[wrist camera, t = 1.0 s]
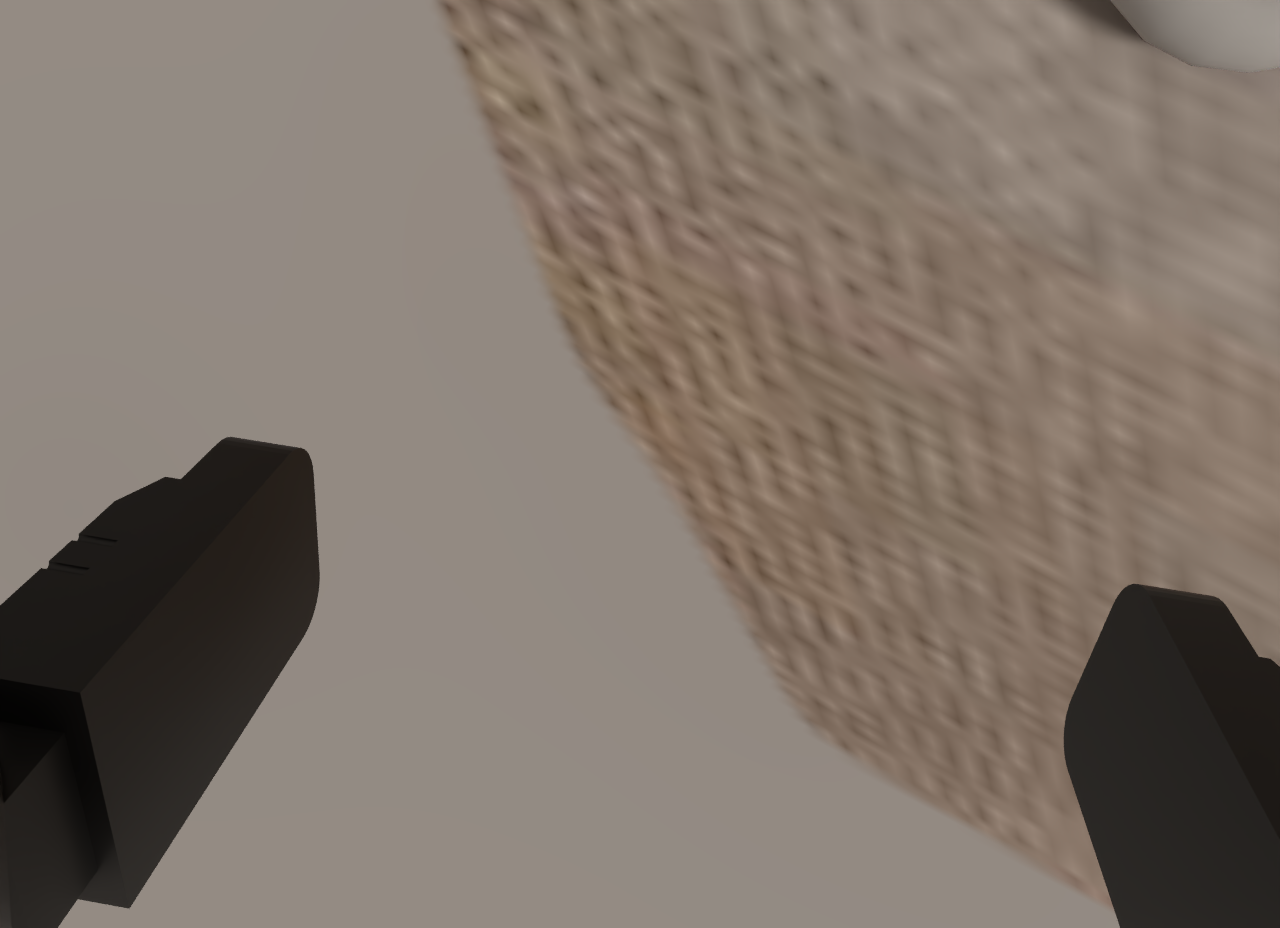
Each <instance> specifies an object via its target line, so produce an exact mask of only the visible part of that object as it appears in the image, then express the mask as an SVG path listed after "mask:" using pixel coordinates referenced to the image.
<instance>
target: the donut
mask: <svg viewBox="0 0 1280 928" xmlns="http://www.w3.org/2000/svg"><path fill="white" fill-rule="evenodd" d="M1110 1H1111V2H1112V3H1113V4H1114V5H1115V7H1116V8H1117V9H1118V10H1119V11H1120V13H1121V14H1122V15H1123V16H1124V17H1125V19H1126V20H1127V21H1128V22H1129V23H1130V25H1131V26H1132V27H1133V28H1134V29H1135V31H1136V32H1137V33H1138V34H1139V35H1140V37H1141V38H1142V39H1143V40H1144V41H1145V42H1147V43H1149V44H1151V45H1153V46H1155V47H1157V48H1159V49H1160V50H1162V51H1164V52H1166V53H1168V54H1170V55H1172V56H1174V57H1176V58H1177V59H1179V60H1181V61H1183V62H1185V63H1187V64H1189V65H1191V66H1198V67H1206V68H1214V69H1222V70H1230V71H1238V72H1246V73H1248V72H1258V71H1264V70H1269V69H1274V68H1280V0H1110Z"/></svg>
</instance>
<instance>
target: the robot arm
mask: <svg viewBox="0 0 1280 928" xmlns="http://www.w3.org/2000/svg"><path fill="white" fill-rule="evenodd" d="M319 576H320V572H319V555H318V540H317V522H316V506H315V490H314V474H313V465H312V461H311V459H310V456H309V454H308V452H307V451H305V449H302V448H297V447H291V446H285V445H278V444H272V443H266V442H260V441H253V440H247V439H241V438H235V437H227V438H225V439H223V440H221V441H220V442H219V443H218V444H217V445H216V446H214V447H213V448H212V449H211V450H210V451H209V452H208V453H207V454H206V455H205V456H204V457H203V458H202V459H201V460H200V461H199V462H198V463H197V464H196V465H195V466H194V467H193V468H192V469H191V470H190V471H189V472H188V473H187V474H186V475H185V476H184V477H183V478H182V479H175V478H169V477H164V478H162V479H160V480H158V481H156V482H154V483H152V484H150V485H148V486H146V487H144V488H141V489H139V490H137V491H135V492H133V493H131V494H129V495H127V496H125V497H123V498H121V499H118V500H116V501H114V502H113V503H112V504H111V505H110V506H109V507H108V508H107V509H106V510H105V511H103V512H102V513H101V514H100V515H99V516H98V517H97V518H96V519H95V520H94V521H92V522H91V523H90V524H89V525H88V526H87V527H86V528H85V529H84V530H83V531H82V532H81V533H79V539H78V541H71V542H69V543H68V544H67V545H66V546H65V547H64V548H63V549H62V550H61V551H60V552H58V553H57V554H56V555H55V556H54V557H53V558H52V559H51V560H50V561H49V566H48V568H47V569H42V568H41V569H40V570H39V571H38V572H37V573H35V575H33V576H32V577H31V578H30V579H29V580H28V581H27V582H26V583H24V584H23V585H22V586H21V587H20V588H19V589H18V590H17V591H16V592H15V593H13V594H12V595H11V596H10V597H9V598H8V599H7V600H6V601H5V602H4V603H3V604H1V605H0V928H58V926H59V925H60V924H61V922H62V921H63V919H64V918H65V916H66V915H67V914H68V912H69V911H70V909H71V908H72V906H73V905H74V903H75V902H76V901H77V899H80V900H86V901H91V902H97V903H102V904H108V905H113V906H119V907H124V908H130V907H131V905H132V904H133V902H134V901H135V899H136V897H137V896H138V894H139V893H140V891H141V890H142V888H143V886H144V885H145V883H146V882H147V880H148V879H149V877H150V876H151V874H152V872H153V871H154V869H155V868H156V866H157V865H158V863H159V862H160V860H161V858H162V857H163V855H164V853H165V852H166V851H167V849H168V847H169V846H170V844H171V843H172V841H173V839H174V838H175V837H176V835H177V833H178V832H179V830H180V829H181V827H182V826H183V824H184V823H185V821H186V819H187V818H188V816H189V815H190V813H191V812H192V810H193V808H194V807H195V805H196V804H197V802H198V800H199V799H200V798H201V796H202V794H203V793H204V791H205V790H206V788H207V787H208V785H209V784H210V782H211V780H212V779H213V777H214V776H215V774H216V773H217V771H218V770H219V768H220V766H221V765H222V763H223V762H224V760H225V759H226V757H227V755H228V754H229V752H230V750H231V749H232V748H233V746H234V744H235V743H236V741H237V740H238V738H239V737H240V735H241V734H242V732H243V730H244V729H245V727H246V726H247V724H248V723H249V721H250V720H251V718H252V716H253V715H254V713H255V712H256V710H257V709H258V707H259V705H260V704H261V702H262V701H263V699H264V698H265V696H266V694H267V693H268V692H269V690H270V688H271V687H272V685H273V684H274V682H275V680H276V679H277V678H278V676H279V674H280V673H281V671H282V670H283V668H284V667H285V665H286V663H287V662H288V660H289V659H290V657H291V656H292V654H293V653H294V651H295V649H296V648H297V646H298V645H299V643H300V642H301V640H302V638H303V637H304V635H305V633H306V631H307V629H308V627H309V625H310V622H311V620H312V617H313V613H314V610H315V606H316V602H317V597H318V591H319V579H320V577H319ZM1064 753H1065V760H1066V765H1067V769H1068V772H1069V775H1070V778H1071V781H1072V784H1073V787H1074V790H1075V793H1076V796H1077V799H1078V802H1079V805H1080V808H1081V811H1082V814H1083V817H1084V820H1085V823H1086V826H1087V829H1088V832H1089V835H1090V838H1091V841H1092V844H1093V847H1094V850H1095V853H1096V856H1097V859H1098V862H1099V865H1100V868H1101V871H1102V874H1103V877H1104V880H1105V883H1106V886H1107V889H1108V892H1109V895H1110V898H1111V901H1112V904H1113V907H1114V910H1115V913H1116V916H1117V919H1118V922H1119V925H1120V928H1280V667H1279V666H1278V665H1277V664H1276V663H1275V662H1274V661H1272V660H1271V659H1268V658H1262V657H1258V655H1257V654H1256V652H1255V650H1254V649H1253V647H1252V646H1251V644H1250V642H1249V641H1248V639H1247V638H1246V636H1245V635H1244V633H1243V631H1242V630H1241V628H1240V627H1239V625H1238V623H1237V622H1236V620H1235V619H1234V617H1233V616H1232V614H1231V612H1230V611H1229V609H1228V608H1227V606H1226V605H1225V604H1224V603H1223V602H1222V601H1221V600H1220V599H1219V598H1216V597H1214V596H1209V595H1202V594H1196V593H1190V592H1184V591H1177V590H1171V589H1165V588H1159V587H1152V586H1146V585H1140V584H1131V585H1128V586H1127V587H1125V588H1124V589H1123V590H1122V591H1121V592H1120V594H1119V595H1118V597H1117V598H1116V600H1115V602H1114V604H1113V606H1112V608H1111V611H1110V613H1109V615H1108V617H1107V620H1106V622H1105V624H1104V627H1103V629H1102V631H1101V633H1100V636H1099V638H1098V640H1097V642H1096V645H1095V647H1094V649H1093V651H1092V654H1091V656H1090V658H1089V660H1088V663H1087V665H1086V667H1085V669H1084V672H1083V674H1082V676H1081V678H1080V681H1079V683H1078V685H1077V687H1076V690H1075V692H1074V694H1073V696H1072V699H1071V701H1070V704H1069V707H1068V711H1067V715H1066V720H1065V728H1064Z"/></svg>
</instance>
